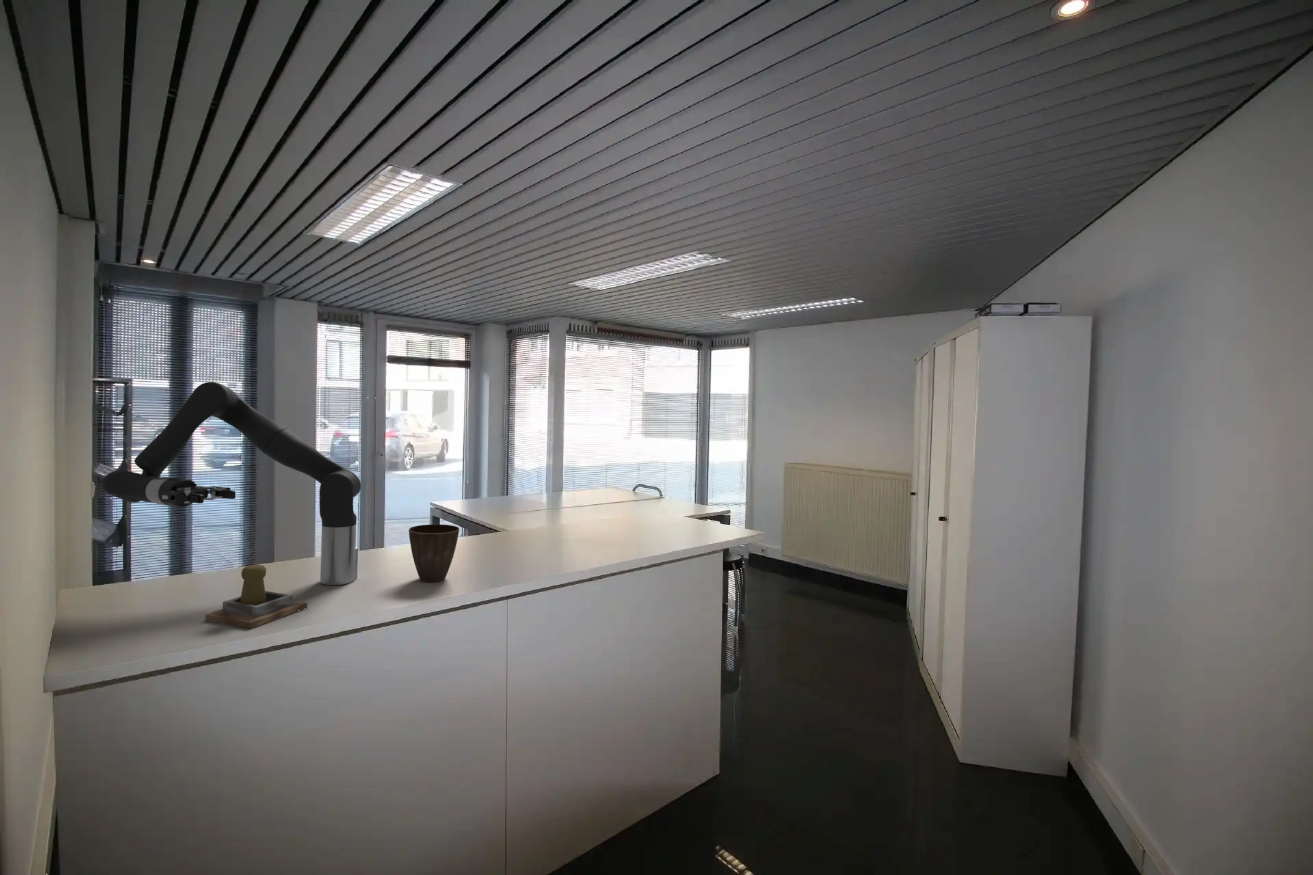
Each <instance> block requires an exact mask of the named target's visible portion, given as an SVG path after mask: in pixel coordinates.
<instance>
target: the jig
mask: <svg viewBox="0 0 1313 875" xmlns="http://www.w3.org/2000/svg"><path fill="white" fill-rule="evenodd" d="M265 594H266V603H263V604H260V605H251V604H245V603H240V599H241V595H240V596H236V597H234V598H230V599H228V600H224V601H222V608H221V609H218V610H215V611H212V612H208V613H206V614H205V621H206V622H211V621H213V622H212V623H216V624H222V623H223V624H222V625H228V626H234V627H239V628H244V629H248V628H250V629H251V630H252V629H254V628H257V626H258V627H261V626H263V625H265V624H264V623H266V624H268V622H269V623H271V622H274V621H276V620H275V619H277V620H279V619H278V618H280V617H282V618H284V616H285V617H287V616H286V615H288V616H289V614H290V615H292V614H291V613H293V614H295V612H296V611H298V610H301V611H303V610H302V609H304V608H307V609H308V602H304V601H299V600H293V595H292V594H286V593H280V592H274V591H267V590H265ZM304 610H305V609H304ZM296 613H297V612H296ZM280 619H281V618H280ZM273 620H274V621H273ZM270 621H271V622H270ZM262 624H263V625H262ZM250 629H249V630H250Z"/></svg>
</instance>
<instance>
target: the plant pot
mask: <svg viewBox="0 0 1313 875" xmlns="http://www.w3.org/2000/svg"><path fill="white" fill-rule="evenodd" d="M459 532H460V527H459V526H457V525H451V524H440V523H438V524H433V523H431V524H421V525H420V524H419V525H415V526H411V527H408V536H409V543H410V549H411V555H412V558H413V563H414V566H415V567H414V568H415V570H416V573H417V575H418V578H419V580H420V581H421V582H423V581H424V583H437V582H442V581H444V580H445V579H446V578H447V574H448V573H449V570H450V567H451V564H452V562H453V558H454V556H455V552H456V549H457V548H456V547H457V544H458V539H459ZM441 580H442V581H441Z"/></svg>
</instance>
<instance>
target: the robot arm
mask: <svg viewBox="0 0 1313 875" xmlns="http://www.w3.org/2000/svg"><path fill="white" fill-rule="evenodd" d="M210 417H214V418H216V419H218V420H221V421H222V422H224V423H226V424H228V425H229V426H231V427H233V428H235V429H236V430H238V432H240V433H241V434H242V435H244V436H245V437H246V438H247V439H248V440H249V442H251V443H252V444H253V445H254V446H255V447H256V448H257V449H258V450H259V451H260V452H262V453H263V454H264V455H266V456H267V457H269V458H271V459H272V460H273V461H275V462H277V463H279V464H280V465H283V466H284V467H286V468H290V469H291V470H292V469H293V470H294V471H297V472H299V473H302V474H304V475H306V476H309V477H311V478H312V479H314V480H315V481H316V482H318V483H319V484H320V485H319V493H318V494H319V496H318V497H319V498H318V500H319V501H318V502H319V516H320V519H321V541H320V542H321V544H320V572H319V574H320V580H319V582H320V584H323V585H324V586H326V585H327V586H341V585H347V584H350V583H353V582H355V580H356V579H358V566H359V565H358V560H359V559H358V558H359V548H358V547H357V546H356V545H357V519H358V518H357V514H355V512H354V498H355V497H356V496H358V495H359V494H360V491H361V488H362V483H361V480H360V477H359V476H358V475H357V474H355V473H354V472H353V471H351V470H349V469H347V468H346V467H344V466H342V465H340V464H339V463H337V462H334V461H333V460H331V459H330V458H328V457H326V456H325V455H324V454H322V453H321V452H320V451H319V450H317V449H316V448H315V447H313V446H312V445H311V444H309V443H308V442H307V441H305V440H304V439H302V438H301V437H300V436H298V435H297V434H295V433H294V432H292V431H291V430H290V429H288V428H286V427H285V426H284V425H282V424H280V423H279V422H277V421H276V420H273V419H272V418H270V417H268V416H266V415H264V414H262V413H261V412H259V411H258V410H256V409H254V408H253V407H252V406H251V405H250V404H249V403H247V402H246V400H243V398H242V397H240V396H239V395H238V394H237V393H236V392H235V391H234V390H233V389H232V388H229V387H227V386H225V385H224V384H221V383H219V382H216V381H206V382H204V383H201V384H199V385H198V386H197V387H196V388H195V389H194V390H193V391H192V393H190V395H189V397H188V398H187V400H186V401H185V403H184V404H183V405H182V406H181V408H180V409H179V411H178V412H177V413H176V414H175V416H174V417H173V418H172V420H170V422H169V423H167V425H166V426H165V427H164V429H163V430H162V431H161V432H160V433H158V435H157V436H156V437H155V438H154V439H153V440H152V441H151V442H150V443H149V444H147V446H146V447H144V449H142V450H141V452H140V453H139V454H138V455H137V456H136V457H135V458H134V460H133V462H134V464H135V466H137V467H138V468H140V470H142V472H141V473H139V472H134V471H130V470H125V469H118V470H112V472H109V473H107V474H106V475H105V476H104V477H103V479H102V481H101V488H102V490H103V492H104V493H105V494H107V495H110V496H112V497H115V498H118V499H120V500H123V501H125V502H129V503H131V504H135V503H139V502H145V503H151V504H156V505H161V506H167V507H168V506H169V507H177V508H185V507H189V506H190V505H192V504H203V503H204V502H205V501H214V500H216V499H225V500H235V499H236V491H235V490H231V487H229V486H227V487H225V486H224V487H222V486H216V485H212V486H203V485H197V483H196V482H195V481H193V480H192V479H188V478H182V477H173V476H164V477H163V476H162V477H161V475H162V473H163V472H164V471H165V470H166V469H167V468H168V467H169V466H170V465H171V464H172V463H173V462H174V461H175V460H176V459H177V458H178V456H179V455H180V454H181V453H182V452H183V450H184V449H185V447H186V446H187V444H188V442H189V440H190V438H191V436H192V435H193V434H194V432H195V431H196V430H197V429H198V428H199V426H200V425H201V424H203V423H204V421H205V422H206V420H207V419H209V418H210ZM209 495H210V497H209Z"/></svg>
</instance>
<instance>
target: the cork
mask: <svg viewBox="0 0 1313 875" xmlns="http://www.w3.org/2000/svg"><path fill="white" fill-rule="evenodd" d="M240 575H241V577H242V579H243V584H242V589H241V594H240V596H241V599H240V603H245V604H251V605H260V604H263V603H266V594H265V591H266V588H265V580H264V578H265V577H266V575H267V568H266V567H265V566H264V565H263V564H250V565H247V566H245V567H243V568H242V569H241V573H240Z"/></svg>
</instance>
